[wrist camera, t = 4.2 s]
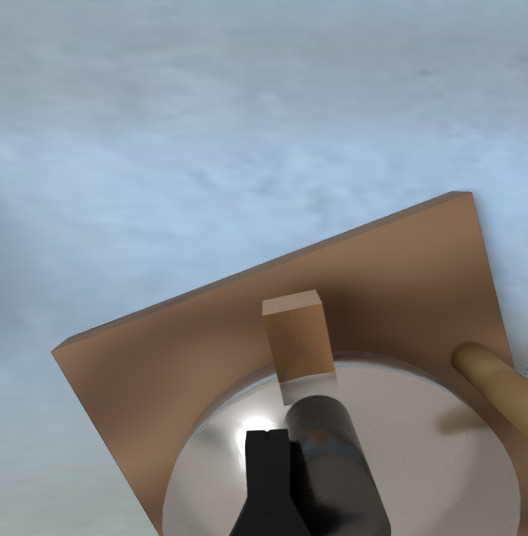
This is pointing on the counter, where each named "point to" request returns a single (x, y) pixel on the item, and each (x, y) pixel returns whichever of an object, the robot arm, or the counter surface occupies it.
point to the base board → (339, 331)
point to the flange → (345, 444)
